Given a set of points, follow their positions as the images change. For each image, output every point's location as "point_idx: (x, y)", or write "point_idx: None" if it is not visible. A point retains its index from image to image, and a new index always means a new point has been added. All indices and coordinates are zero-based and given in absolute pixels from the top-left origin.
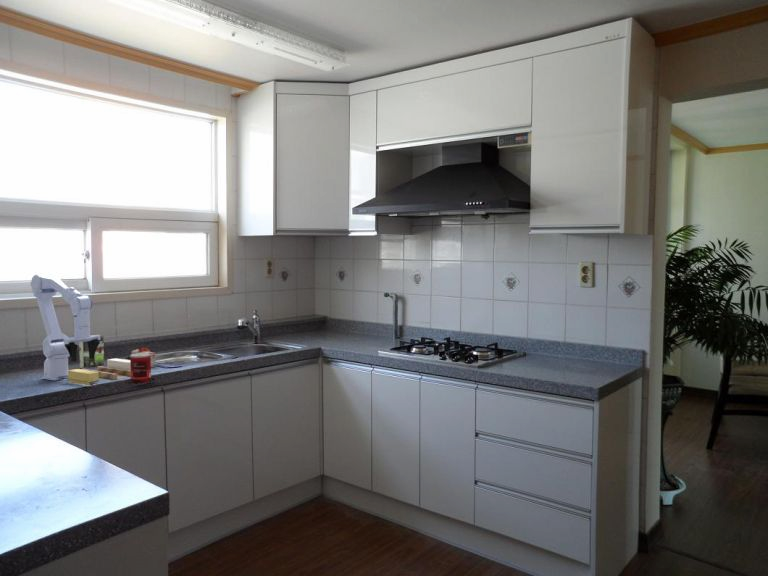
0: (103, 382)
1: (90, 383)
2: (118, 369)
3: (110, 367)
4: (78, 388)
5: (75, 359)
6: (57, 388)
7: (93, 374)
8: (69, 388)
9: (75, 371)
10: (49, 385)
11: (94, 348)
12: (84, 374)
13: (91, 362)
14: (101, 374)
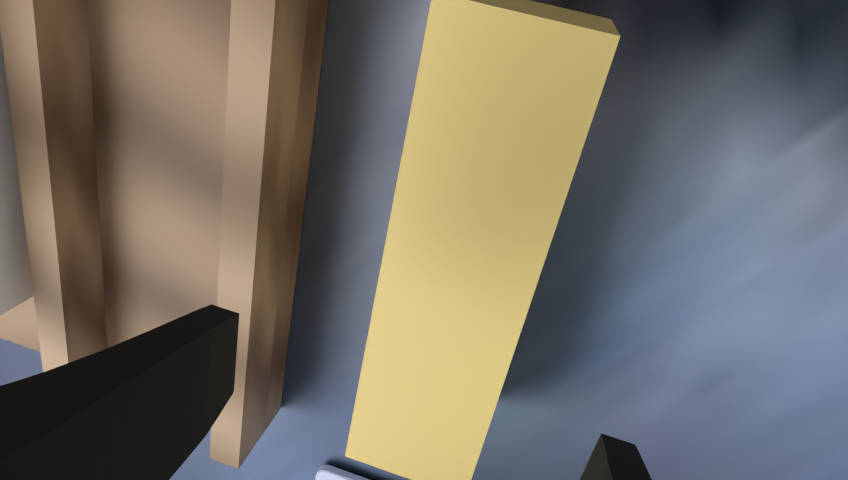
0: (375, 3)
1: (599, 17)
2: (25, 42)
3: (10, 257)
4: (813, 40)
5: (629, 467)
6: (837, 308)
7: (539, 13)
8: (824, 165)
9: (497, 381)
10: (680, 473)
11: (34, 422)
12: (573, 170)
13: None
14: (280, 116)
